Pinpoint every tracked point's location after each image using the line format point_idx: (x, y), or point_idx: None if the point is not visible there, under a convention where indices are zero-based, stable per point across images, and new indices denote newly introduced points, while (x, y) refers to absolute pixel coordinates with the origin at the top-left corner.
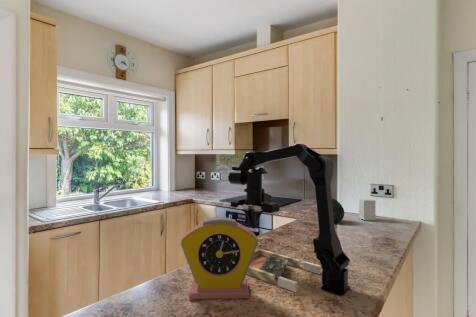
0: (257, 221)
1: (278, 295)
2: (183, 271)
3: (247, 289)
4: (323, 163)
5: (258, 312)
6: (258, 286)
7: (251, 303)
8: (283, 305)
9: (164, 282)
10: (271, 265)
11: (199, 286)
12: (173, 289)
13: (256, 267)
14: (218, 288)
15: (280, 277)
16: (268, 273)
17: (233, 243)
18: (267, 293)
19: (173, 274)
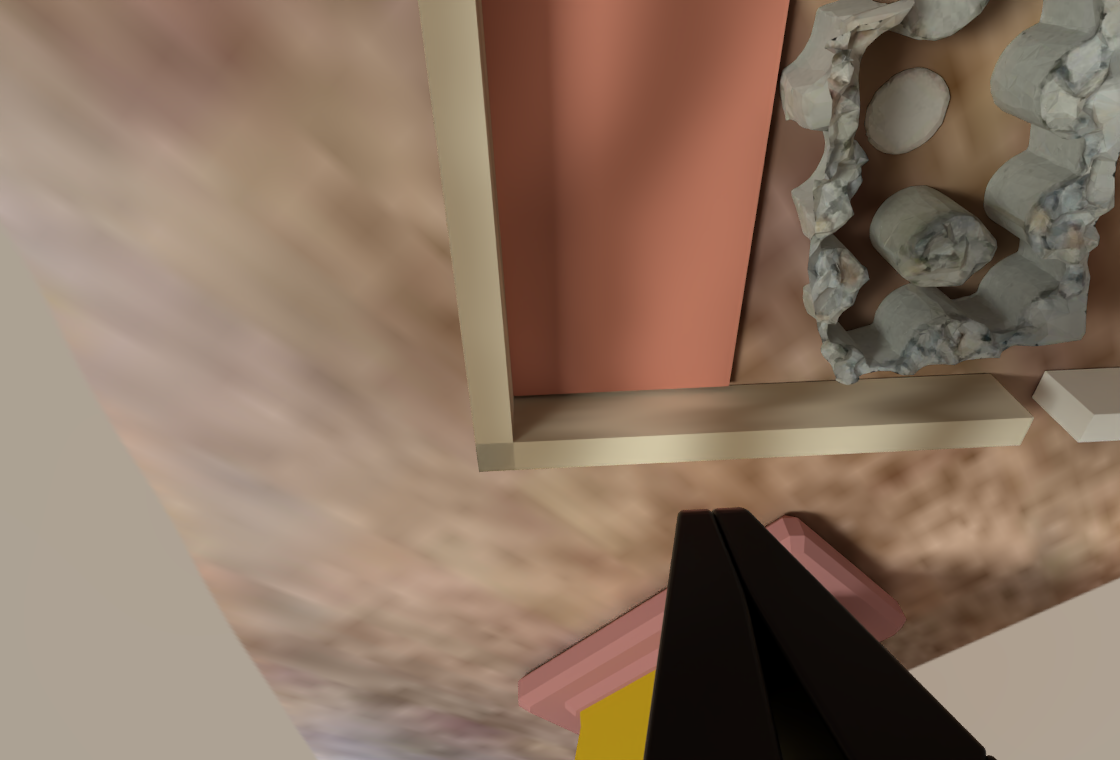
0: (909, 717)
1: (1062, 485)
2: (296, 638)
3: (885, 615)
4: None
5: (990, 634)
6: (886, 484)
7: (926, 612)
8: (1113, 538)
9: (377, 732)
10: (939, 274)
11: None
12: (485, 733)
13: (705, 264)
14: None
15: (1101, 427)
16: (971, 436)
17: None
18: (981, 508)
19: (303, 682)
